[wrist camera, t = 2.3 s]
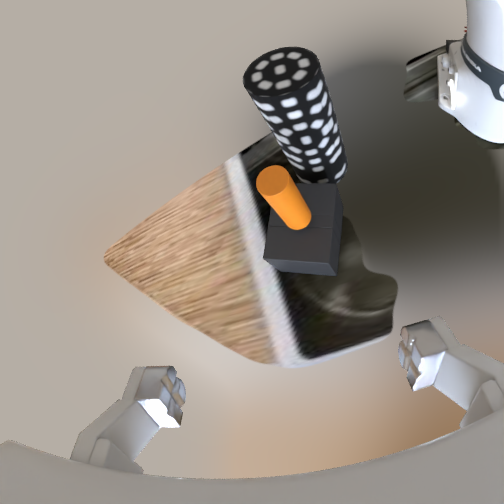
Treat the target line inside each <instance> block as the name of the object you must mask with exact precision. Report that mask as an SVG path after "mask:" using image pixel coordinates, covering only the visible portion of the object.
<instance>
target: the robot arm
mask: <svg viewBox="0 0 504 504" xmlns="http://www.w3.org/2000/svg"><path fill="white" fill-rule="evenodd" d="M466 7H467V27H465V28H467V30H465V32H466V34H465V36H464V38H463V39H462V41H460V40H446V51H447V52H448V53H445V54H441V55H439V56H438V58H437V69H438V105H439V107H440V108H441V109H443V110H445V111H446V112H448V113H449V114H451V115H453V116H454V117H455V118H457V119H458V121H459V122H460V123H461V124H462V125H463V126H464V127H466V128H467V129H468V130H469V131H471V132H472V133H473V134H475V135H477V136H479V137H480V138H482V139H485V140H488V141H491V142H495V143H504V0H466ZM445 99H446V100H445ZM400 335H401V337H402V339H403V340H402V341H401V342H400V344H399V349H398V352H399V359H400V363H401V365H402V368H404V369H405V370H407V371H408V374H407V379H408V382H409V383H410V386H411V389H412V391H415V390H419V389H422V388H425V387H428V386H432V385H434V387H435V388H437V389H438V390H440V391H441V392H442V393H444V394H445V395H446V396H448V397H449V398H450V399H452V400H453V401H454V402H456V403H457V404H459V405H460V406H461V407H463V408H464V409H465V410H466V411H467V412H466V414H465V415H464V417H463V419H462V420H461V422H460V424H459V425H460V428H461V429H459V430H456V431H454V432H452V433H449V434H447V435H444V436H442V437H439V438H437V439H434V440H432V441H429V442H426V443H424V444H421V445H418V446H415V447H413V448H409V449H406V450H403V451H400V452H397V453H394V454H390V455H387V456H383V457H380V458H376V459H373V460H369V461H364V462H360V463H356V464H352V465H347V466H343V467H337V468H332V469H327V470H321V471H315V472H309V473H302V474H293V475H285V476H275V477H262V478H245V479H196V478H178V477H165V476H155V475H147V474H143V469H142V468H141V467H140V466H139V465H138V464H137V463H135V462H134V460H135V458H136V457H137V456H138V455H139V453H140V452H141V451H142V450H143V449H144V447H145V446H146V445H147V444H148V442H149V441H150V440H151V439H152V438H153V436H154V435H155V434H156V433H157V431H158V430H159V429H160V427H180V425H181V420H182V415H183V412H182V410H181V409H180V407H181V406H182V405H183V404H184V403H185V398H186V392H185V387H184V384H183V382H182V380H181V379H179V378H177V377H176V373H177V372H176V370H175V369H174V367H173V366H147V367H135V368H134V369H133V370H132V373H131V375H130V378H129V381H128V383H127V386H126V389H125V391H124V394H123V397H122V400H117V401H116V402H115V403H114V404H113V405H112V406H111V407H109V408H108V409H107V410H106V411H105V412H104V413H102V414H101V415H100V416H99V417H98V418H97V419H96V420H95V421H93V422H92V423H91V424H90V425H89V426H88V427H86V428H85V429H84V430H83V431H82V432H81V433H80V434H79V436H78V438H77V441H76V443H75V446H74V449H73V451H72V454H71V457H70V459H66V458H63V457H59V456H56V455H52V454H49V453H46V452H43V451H40V450H37V449H34V448H31V447H28V446H26V445H23V444H21V443H18V442H15V441H12V440H8V441H6V442H4V443H2V444H0V504H504V363H501V362H500V361H498V360H496V359H493V358H491V357H489V356H487V355H485V354H483V353H481V352H479V351H477V350H475V349H473V348H471V347H469V346H467V345H465V344H463V345H460V343H459V342H458V340H457V339H456V337H455V336H454V334H453V333H452V331H451V330H450V328H449V327H448V326H447V324H446V323H445V321H444V320H443V318H442V317H441V316H437V317H434V318H431V319H428V320H424V321H421V322H417V323H414V324H411V325H407V326H404V327H402V329H401V334H400Z"/></svg>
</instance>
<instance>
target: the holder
mask: <svg viewBox="0 0 504 504" xmlns="http://www.w3.org/2000/svg"><path fill="white" fill-rule="evenodd" d="M295 185H296V187H297V188H298V190H299V192H300V194H301V195H302V197H303V199H304V201H305V202H306V204H307V206H308V208H309V210H310V212H311V220H310V222H309V224H308V225H307V226H306V227H305V228H303V229H300V230H294V229H291V228H289V227H288V226H287V225H286V223H285V222H284V221H283V220H282V219H281V217H280V216H279V215H278V214H277V213H276V211H275V210H274V209H273V208H272V207H271V212H270V218H269V224H268V231H267V237H266V243H265V249H264V256H263V259H264V260H266V261H267V262H268V263H270V264H271V265H273V266H274V267H275V268H277V269H278V270H280V271H284V272H295V273H307V274H318V275H330V276H337V270H338V260H339V251H340V240H341V229H342V217H343V205H342V201H341V198H340V194H339V191H338V188H337V185H336V184H328V183H300V184H295Z"/></svg>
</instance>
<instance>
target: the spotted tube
mask: <svg viewBox="0 0 504 504" xmlns="http://www.w3.org/2000/svg"><path fill="white" fill-rule="evenodd" d="M243 84H244V87H245V88H246V90H247V91H248V93H249V95H250V96H251V98H252V99H253V101H254V103H255V104H256V106H257V108H258V109H259V111H260V112H261V114H262V116H263V118H264V119H265V121H266V122H267V124H268V126H269V128H270V129H271V131H272V133H273V134H274V136H275V138H276V140H277V141H278V143H279V145H280V147H281V148H282V150H283V152H284V154H285V155H286V157H287V159H288V161H289V162H290V164H291V166H292V168H293V170H294V172H295V173H296V175H297V177H298V179H299V180H300V181H301V182H302V183H328V184H336V183H338V182H339V181H340V180H341V179H342V178H343V177H344V175H345V173H346V171H347V165H348V163H347V157H346V153H345V149H344V145H343V141H342V137H341V133H340V129H339V125H338V122H337V118H336V114H335V111H334V107H333V104H332V100H331V97H330V94H329V90H328V87H327V84H326V81H325V77H324V75H323V71H322V68H321V66H320V62H319V59H318V58H317V56H316V55H315V54H314V53H313V52H312V51H310V50H308V49H305V48H300V47H284V48H279V49H275V50H273V51H270V52H268V53H266V54H263V55H262V56H260V57H259V58H257V59H256V60H255V61H253V62H252V63H251V64H250V65H249V67H248V68H247V70H246V71H245V73H244V76H243Z"/></svg>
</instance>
